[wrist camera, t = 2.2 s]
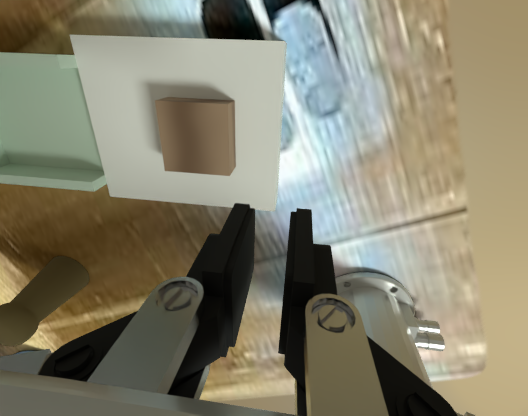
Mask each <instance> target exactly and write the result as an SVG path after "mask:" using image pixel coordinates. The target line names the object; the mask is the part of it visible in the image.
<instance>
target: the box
mask: <svg viewBox="0 0 528 416" xmlns="http://www.w3.org/2000/svg"><path fill="white" fill-rule="evenodd" d="M0 183H4V184H15V185H26V186H38V187H49V188H60V189H71V190H83V191H94V192H95V191H96V190H98V189H99V188H101V187H103V186H104V185H106V184H107V182H106V178H105V174H104V170H103V166H102V162H101V158H100V154H99V150H98V146H97V142H96V138H95V134H94V130H93V126H92V122H91V118H90V114H89V110H88V106H87V102H86V98H85V94H84V90H83V86H82V82H81V79H80V75H79V71H78V67H77V63H76V59H75V55H64V54H38V53H11V52H0Z"/></svg>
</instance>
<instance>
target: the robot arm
mask: <svg viewBox="0 0 528 416" xmlns="http://www.w3.org/2000/svg"><path fill="white" fill-rule="evenodd" d="M254 236H255V208H250V204H242V203H235V204H234V206H233V208H232V210H231V212H230V214H229V216H228V218H227V220H226V222H225V224H224V226H223V229H222V231H221V233H220V234H210V235H209V236H208V238H207V240H206V241H205V243H204V245H203V247H202V249H201V250H200V252H199V254H198V256H197V258H196V260H195V261H194V263H193V265H192V267H191V269H190V270H189V272H188V274H187V276H186V277H176V278H171V279H169V280H166V281H164V282H162V283H161V284H159V285H158V286H157V287H156V288H155V289H154V290H153V291H152V292H151V294H150V295H149V296H148V298H147V299H146V301H145V302H144V303H143V305H142V306H141V307H140V309H139V310H138V311H137V312H134V313H132V314H130V315H128V316H125V317H123V318H121V319H119V320H117V321H114V322H112V323H110V324H108V325H105V326H103V327H101V328H99V329H97V330H94V331H92V332H90V333H88V334H85V335H83V336H81V337H79V338H76V339H74V340H72V341H70V342H68V343H67V344H65V345H63V346H61V347H60V348H59V349H58V350H56V351H55V352H54V353H51V351H50V349H46V350H39V351H33V352H27V353H20V354H14V355H8V356H1V357H0V416H463V415H460V414H458V413H456V412H455V411H454V410H453V408H452V407H451V406H450V404H449V403H448V402H447V401H446V400H445V399H444V398H443V397H442V396H441V395H440V394H438V393H437V392H436V391H435V390H433V387H432V385H431V382H430V380H429V377H428V375H427V372H426V370H425V367H424V364H423V362H422V359H421V357H420V354H419V352H418V349H417V347H418V348H425V349H428V350H435V351H443V350H444V346H445V345H444V339H443V337H442V336H441V335H440V334H438V333H439V331H440V327H439V324H438V322H436V321H428V320H424V321H423V320H418V318H416V317H414V315H415V307H414V303H413V301H412V298H411V296H410V294H409V292H408V291H407V290H406V288H405V287H404V286H403V285H402V284H400V283H399V282H397V281H396V280H394V279H392V278H390V277H388V276H385V275H381V274H377V273H369V272H358V273H351V274H346V275H343V276H340V277H337V278H335V273H334V266H333V259H332V252H331V246H330V245H320V244H313V233H312V212H311V210H309V209H298V208H297V212H291V217H290V228H289V239H288V251H287V262H286V273H285V284H284V295H283V306H282V318H281V329H280V340H279V351H278V353H280V354H285V361H284V366H285V368H286V369H287V370H288V371H289V372H290V373H291V375H292V376H293V377H294V378H295V415H291V414H285V413H279V412H273V411H267V410H260V409H254V408H248V407H242V406H235V405H229V404H223V403H217V402H211V401H205V400H199V399H200V396H201V393H202V390H203V387H204V385H205V382H206V379H207V376H208V373H209V370H210V363H212V362H214V361H215V360H217V359H218V358H220V356H221V357H226V355H227V352H228V348H229V346H230V347H234V346H235V344H236V340H237V336H238V331H239V327H240V323H241V319H242V315H243V311H244V307H245V303H246V299H247V295H248V291H249V286H250V282H251V278H252V274H253V269H254ZM419 331H425V332H428V333H425V332H424V333H419ZM433 333H436V334H433ZM464 416H475V415H473V414H470V413H468V412H466V413H465V415H464Z"/></svg>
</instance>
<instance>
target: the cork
mask: <svg viewBox="0 0 528 416" xmlns="http://www.w3.org/2000/svg"><path fill="white" fill-rule="evenodd" d="M88 282H89V275H88V273H87V271H86V269H85V268H84V267H83V266H82V265H81V264H80V263H79V262H77V261H76V260H74V259H72V258H69V257H65V256H57V257H54V258H53V259H52V260H51V261H50V262H49V263H48V264H47V265H46V266H45V267H44V268H43V269H42V270H41V271H40V272H39V273H38V274H37V275H36V276H35V277H34V278H33V279H32V281H31V282H30V283H29V284H28V285H27V286H26V287H25V288H24V289H23V290H22V291H21V292H20V293H19V294H18V295H17V296H16V297H15V298H14V299H13V300H12V301H11V302H10V303H6V304H2V305H0V344H1V345H5V346H16V345H19V344H22V343H24V342H25V341H27V340H28V339H29V338H30V337H31V336H32V335H33V334H34V333H35V332H36V330H37V329H38V325H39V322H40V321H42V320H43V319H44V318H45V317H47V316H48V315H49V314H51V313H52V312H53V311H54V310H56V309H57V308H58V307H59V306H61V305H62V304H63V303H65V302H66V301H67V300H68V299H70V298H71V297H72V296H73V295H75V294H76V293H77V292H79V291H80V290H81V289H82V288H84V287H85V286H86V285H87V284H88Z"/></svg>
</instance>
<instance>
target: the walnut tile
mask: <svg viewBox="0 0 528 416" xmlns="http://www.w3.org/2000/svg"><path fill="white" fill-rule="evenodd" d="M155 106H156V113H157V120H158V127H159V134H160V141H161V148H162V155H163V162H164V169H165V171H171V172H184V173H197V174H209V175H222V176H230V175H231V173H232V172H233V170H234V169H235V167H236V147H235V100H216V99H197V98H178V97H166V98H162V99H159V100H155Z"/></svg>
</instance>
